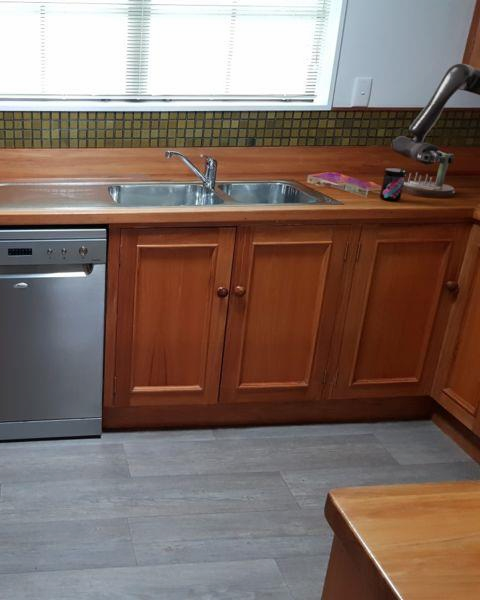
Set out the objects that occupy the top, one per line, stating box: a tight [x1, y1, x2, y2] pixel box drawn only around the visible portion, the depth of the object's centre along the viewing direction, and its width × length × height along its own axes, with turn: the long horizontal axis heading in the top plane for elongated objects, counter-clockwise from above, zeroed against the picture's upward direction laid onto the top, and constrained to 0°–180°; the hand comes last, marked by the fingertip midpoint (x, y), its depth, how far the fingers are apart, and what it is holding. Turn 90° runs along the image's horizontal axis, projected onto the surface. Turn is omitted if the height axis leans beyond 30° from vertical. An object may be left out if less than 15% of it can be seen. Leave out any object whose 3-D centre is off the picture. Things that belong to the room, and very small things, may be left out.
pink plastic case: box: [306, 171, 382, 198], centre depth 229 cm, size 30×15×5 cm, turn 21°
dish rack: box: [403, 153, 455, 193], centre depth 223 cm, size 17×17×12 cm
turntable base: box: [402, 187, 456, 199], centre depth 226 cm, size 18×18×2 cm
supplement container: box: [379, 167, 408, 202], centre depth 213 cm, size 7×7×10 cm
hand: (447, 160), depth 224 cm, fingers closed on dish rack, 2 cm apart
